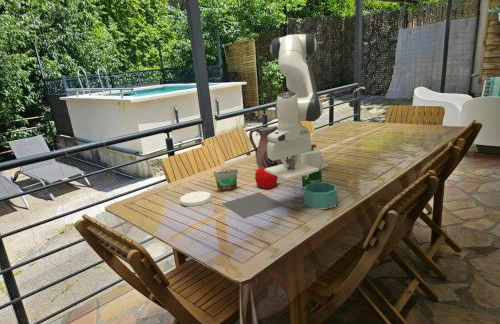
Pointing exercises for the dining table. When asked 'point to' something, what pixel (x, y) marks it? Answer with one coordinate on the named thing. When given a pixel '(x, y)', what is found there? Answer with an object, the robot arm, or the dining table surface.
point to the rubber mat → (252, 205)
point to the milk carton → (315, 161)
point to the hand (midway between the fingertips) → (290, 166)
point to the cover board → (291, 170)
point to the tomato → (265, 178)
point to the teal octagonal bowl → (320, 195)
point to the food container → (226, 180)
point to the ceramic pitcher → (264, 147)
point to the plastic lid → (195, 198)
